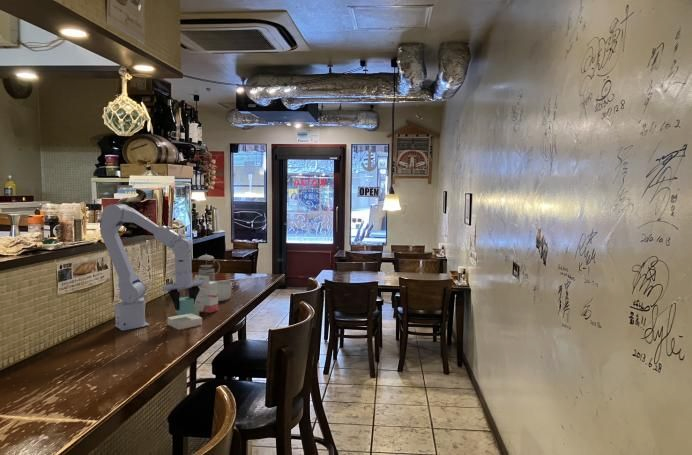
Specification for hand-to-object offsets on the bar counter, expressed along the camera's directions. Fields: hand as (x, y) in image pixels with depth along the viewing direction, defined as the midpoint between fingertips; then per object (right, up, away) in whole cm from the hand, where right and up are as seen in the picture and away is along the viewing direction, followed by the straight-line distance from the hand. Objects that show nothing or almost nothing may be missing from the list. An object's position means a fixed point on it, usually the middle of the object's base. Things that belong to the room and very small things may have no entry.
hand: (184, 308), depth 173 cm
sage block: (-2, -5, +13) cm, 14 cm away
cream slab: (0, -6, +1) cm, 6 cm away
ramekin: (+1, -3, +41) cm, 41 cm away
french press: (-12, 0, +72) cm, 73 cm away
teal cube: (0, -1, 0) cm, 1 cm away
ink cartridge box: (+2, -4, +20) cm, 21 cm away
